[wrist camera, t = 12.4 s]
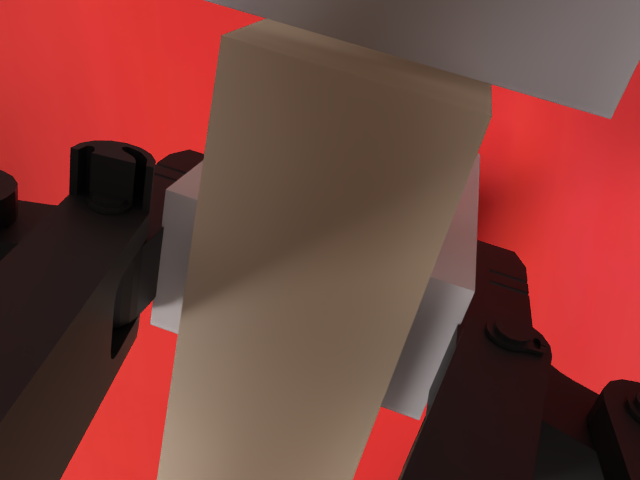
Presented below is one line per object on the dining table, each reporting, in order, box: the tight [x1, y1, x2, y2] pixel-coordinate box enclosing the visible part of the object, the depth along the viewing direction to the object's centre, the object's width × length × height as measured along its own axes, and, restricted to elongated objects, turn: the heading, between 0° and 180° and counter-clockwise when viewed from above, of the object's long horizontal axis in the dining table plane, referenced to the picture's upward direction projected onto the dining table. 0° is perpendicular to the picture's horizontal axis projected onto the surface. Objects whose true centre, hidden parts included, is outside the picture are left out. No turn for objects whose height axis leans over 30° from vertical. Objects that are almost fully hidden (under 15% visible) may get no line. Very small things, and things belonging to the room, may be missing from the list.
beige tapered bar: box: [157, 0, 640, 480], centre depth 11 cm, size 7×24×3 cm, turn 167°
